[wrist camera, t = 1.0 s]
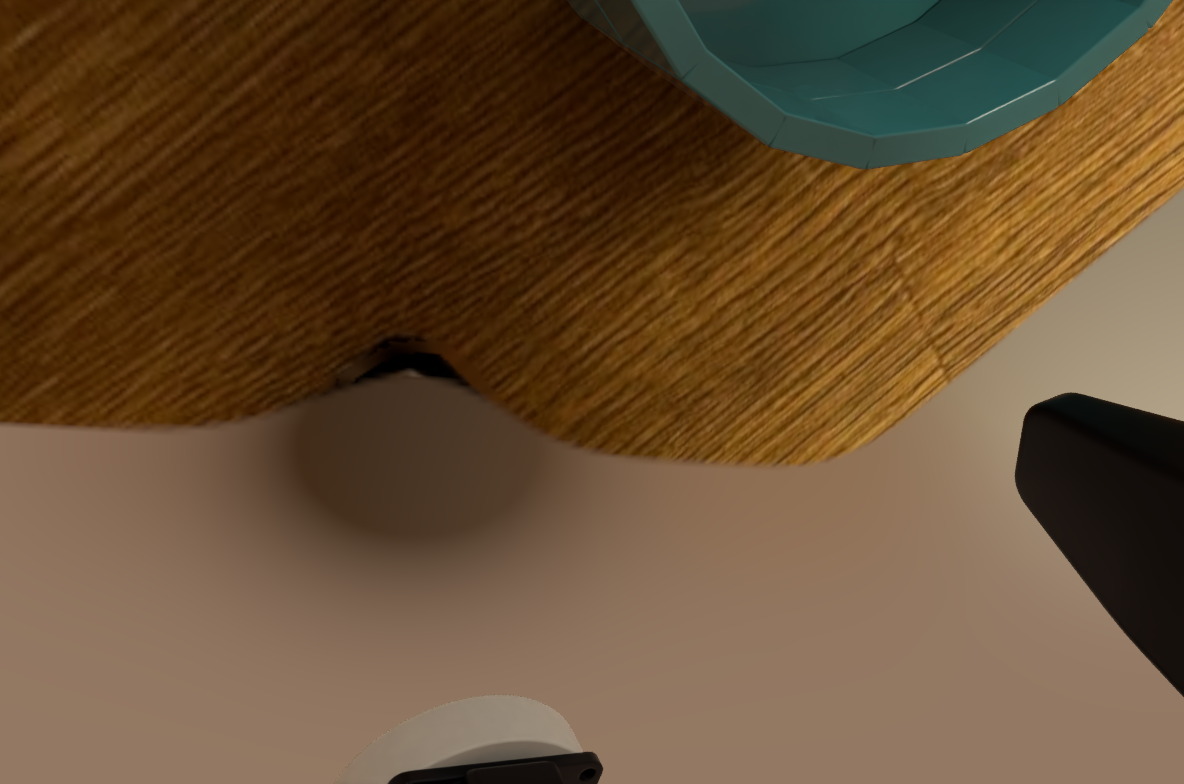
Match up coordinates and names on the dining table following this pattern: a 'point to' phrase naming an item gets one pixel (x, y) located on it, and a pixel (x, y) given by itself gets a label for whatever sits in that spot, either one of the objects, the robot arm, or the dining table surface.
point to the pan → (875, 66)
